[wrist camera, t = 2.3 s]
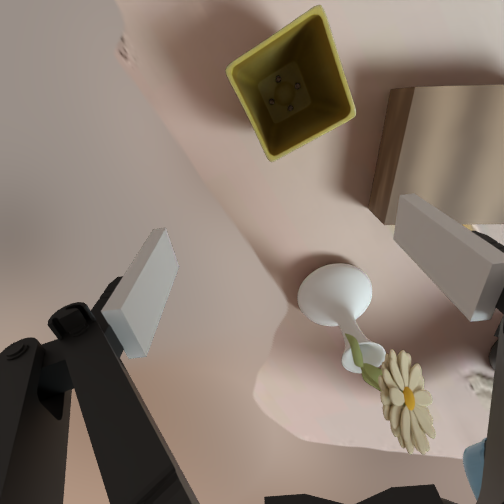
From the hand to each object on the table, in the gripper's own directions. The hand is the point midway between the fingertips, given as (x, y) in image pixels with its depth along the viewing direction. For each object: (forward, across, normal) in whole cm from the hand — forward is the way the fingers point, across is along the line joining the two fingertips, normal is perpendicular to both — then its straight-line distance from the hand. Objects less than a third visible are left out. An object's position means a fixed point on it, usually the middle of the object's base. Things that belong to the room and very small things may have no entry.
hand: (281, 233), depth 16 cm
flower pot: (+22, -3, -6) cm, 23 cm away
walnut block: (+21, -21, +3) cm, 30 cm away
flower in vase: (+20, -8, +21) cm, 30 cm away
